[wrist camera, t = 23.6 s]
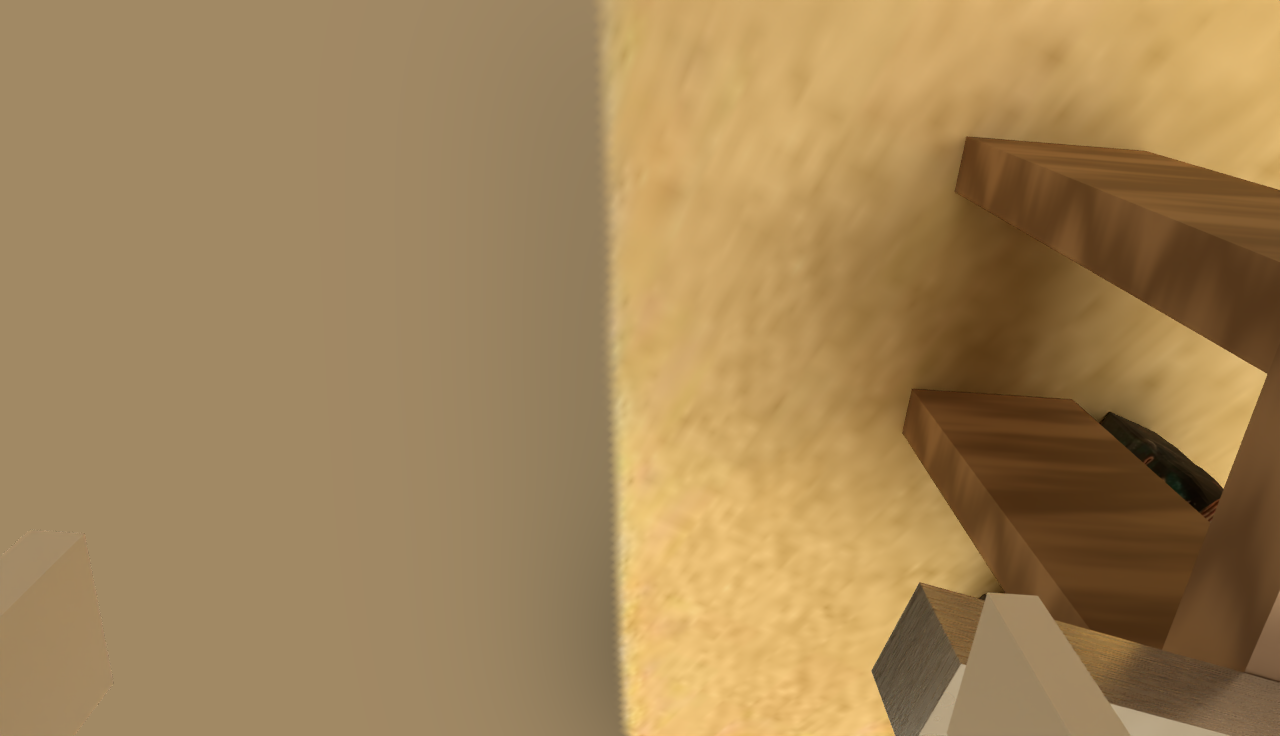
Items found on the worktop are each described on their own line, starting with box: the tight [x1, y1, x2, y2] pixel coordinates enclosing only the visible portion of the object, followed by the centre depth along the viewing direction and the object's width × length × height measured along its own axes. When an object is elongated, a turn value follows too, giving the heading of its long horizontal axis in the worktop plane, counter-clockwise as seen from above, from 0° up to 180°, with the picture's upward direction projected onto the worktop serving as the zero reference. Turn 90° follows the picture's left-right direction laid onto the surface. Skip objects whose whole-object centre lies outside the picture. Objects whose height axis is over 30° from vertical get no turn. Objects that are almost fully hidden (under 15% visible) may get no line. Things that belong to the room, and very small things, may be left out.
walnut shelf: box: [903, 137, 1280, 683], centre depth 38 cm, size 18×12×30 cm, turn 175°
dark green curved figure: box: [980, 412, 1224, 600], centre depth 48 cm, size 20×6×20 cm, turn 155°
